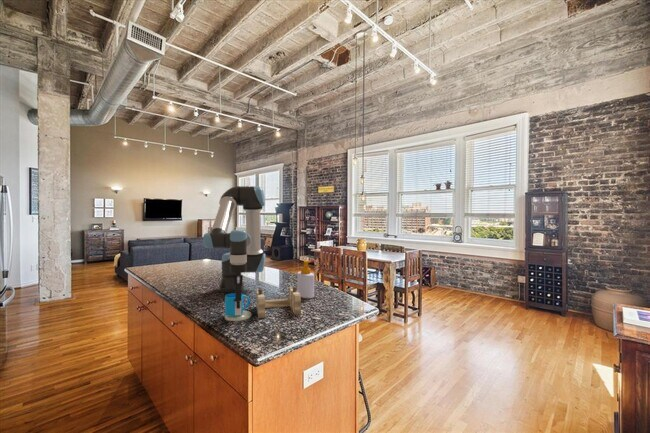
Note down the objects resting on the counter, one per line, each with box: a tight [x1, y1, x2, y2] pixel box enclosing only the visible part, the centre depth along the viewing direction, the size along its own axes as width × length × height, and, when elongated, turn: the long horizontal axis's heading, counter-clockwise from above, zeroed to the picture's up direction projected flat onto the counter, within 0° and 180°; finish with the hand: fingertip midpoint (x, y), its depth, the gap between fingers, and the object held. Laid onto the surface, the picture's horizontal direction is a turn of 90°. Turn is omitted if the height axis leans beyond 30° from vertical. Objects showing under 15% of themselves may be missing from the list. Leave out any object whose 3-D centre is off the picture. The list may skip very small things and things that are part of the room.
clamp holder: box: [255, 286, 302, 319], centre depth 146 cm, size 16×20×11 cm
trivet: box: [224, 309, 252, 322], centre depth 137 cm, size 12×12×1 cm
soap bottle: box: [296, 260, 315, 299], centre depth 172 cm, size 13×8×20 cm, turn 34°
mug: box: [224, 292, 251, 316], centre depth 138 cm, size 12×8×8 cm
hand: (238, 311), depth 137 cm, fingers closed on mug, 8 cm apart
